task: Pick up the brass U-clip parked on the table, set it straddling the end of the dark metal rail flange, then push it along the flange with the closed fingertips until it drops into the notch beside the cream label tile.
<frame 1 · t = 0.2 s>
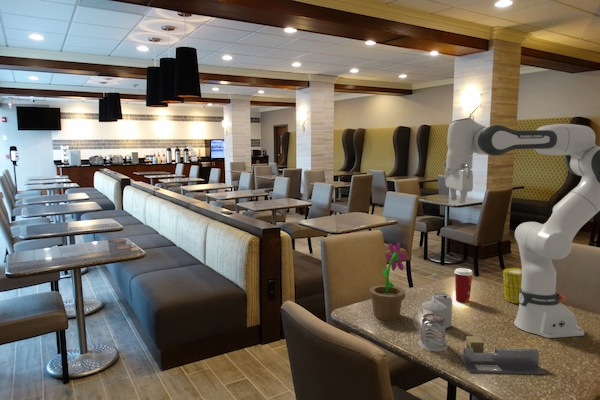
hand: (457, 201, 151), 47 cm above the table, fingers open, 8 cm apart
flowerpot: (386, 315, 167), on the table
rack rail: (500, 365, 128), on the table
food: (514, 301, 183), on the table
can: (440, 325, 157), on the table
clip: (474, 352, 136), on the table
french press: (430, 344, 142), on the table
paper cup: (462, 301, 183), on the table
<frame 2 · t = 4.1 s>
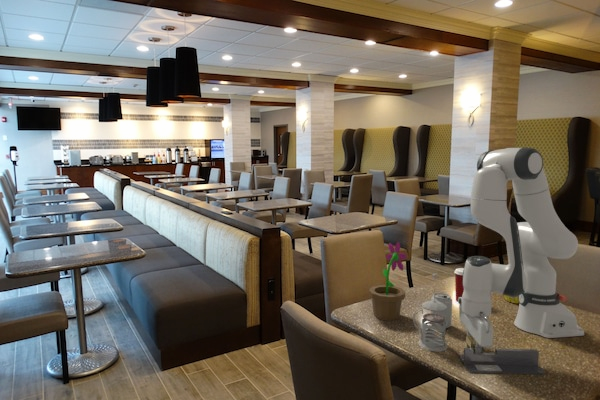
hand: (474, 347, 136), 2 cm above the table, fingers closed on clip, 5 cm apart
clip: (474, 352, 136), on the table, touching gripper
everything else where it was.
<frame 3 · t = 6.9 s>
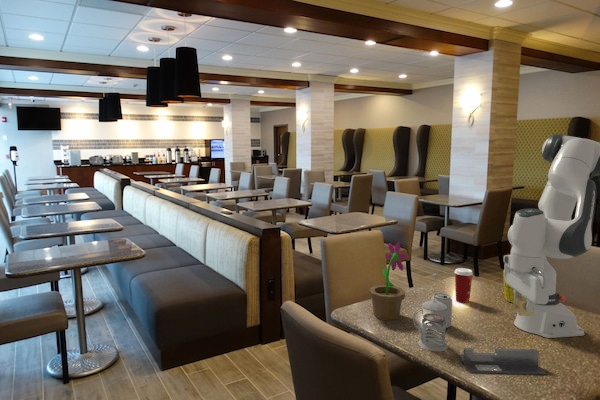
hand: (523, 307, 125), 18 cm above the table, fingers closed on clip, 5 cm apart
clip: (523, 312, 125), point 17 cm above the table, touching gripper
everything else where it was.
when the fingers open (5 cm above the table, at t = 9.5 s): clip drops 1 cm, resting on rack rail.
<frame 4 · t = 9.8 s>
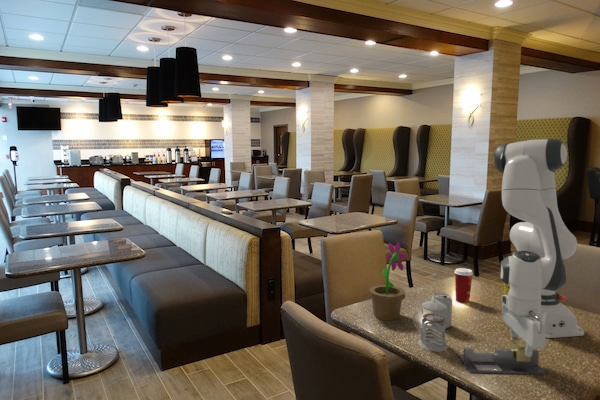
hand: (521, 348, 127), 5 cm above the table, fingers open, 7 cm apart
clip: (520, 357, 127), point 2 cm above the table, touching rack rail
everything else where it was.
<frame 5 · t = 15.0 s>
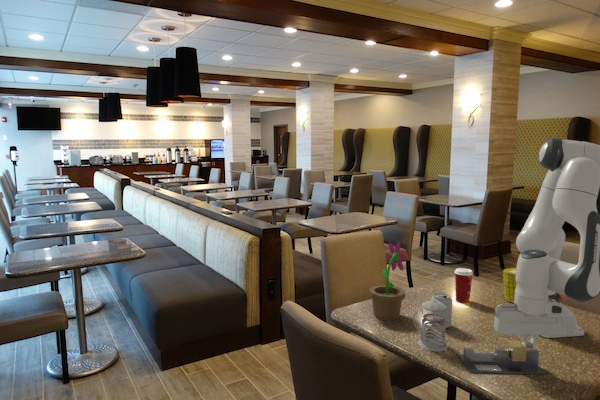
hand: (528, 347, 126), 6 cm above the table, fingers closed
clip: (515, 357, 127), point 3 cm above the table, touching gripper
everything else where it was.
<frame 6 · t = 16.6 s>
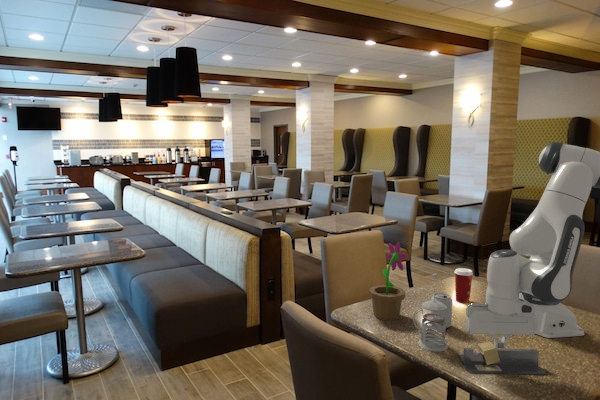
hand: (499, 347, 127), 6 cm above the table, fingers closed
clip: (490, 359, 128), point 2 cm above the table, tilted 16°
everything else where it was.
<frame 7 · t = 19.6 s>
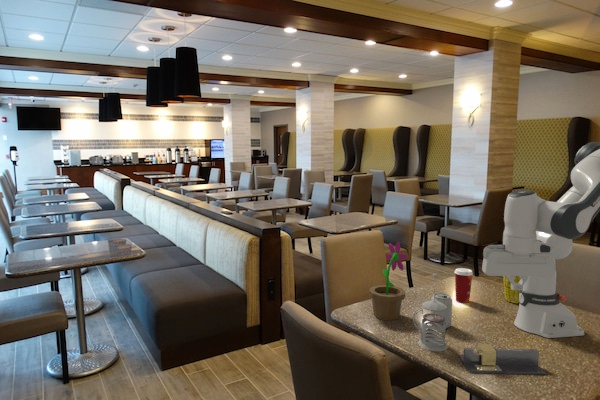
hand: (516, 289, 125), 24 cm above the table, fingers closed
clip: (485, 361, 128), point 1 cm above the table, touching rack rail
everything else where it was.
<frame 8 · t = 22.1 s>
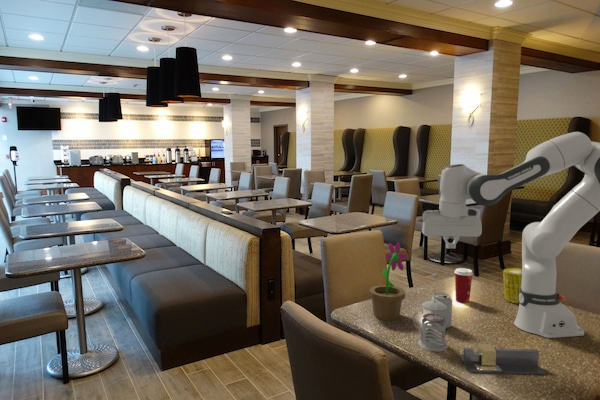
hand: (450, 248, 148), 31 cm above the table, fingers closed
nothing on the table moved.
at the end: clip 0.6 cm from the target spot on the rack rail, point 1.0 cm above the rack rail's base; clip tilted 0°; the gripper is holding nothing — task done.
